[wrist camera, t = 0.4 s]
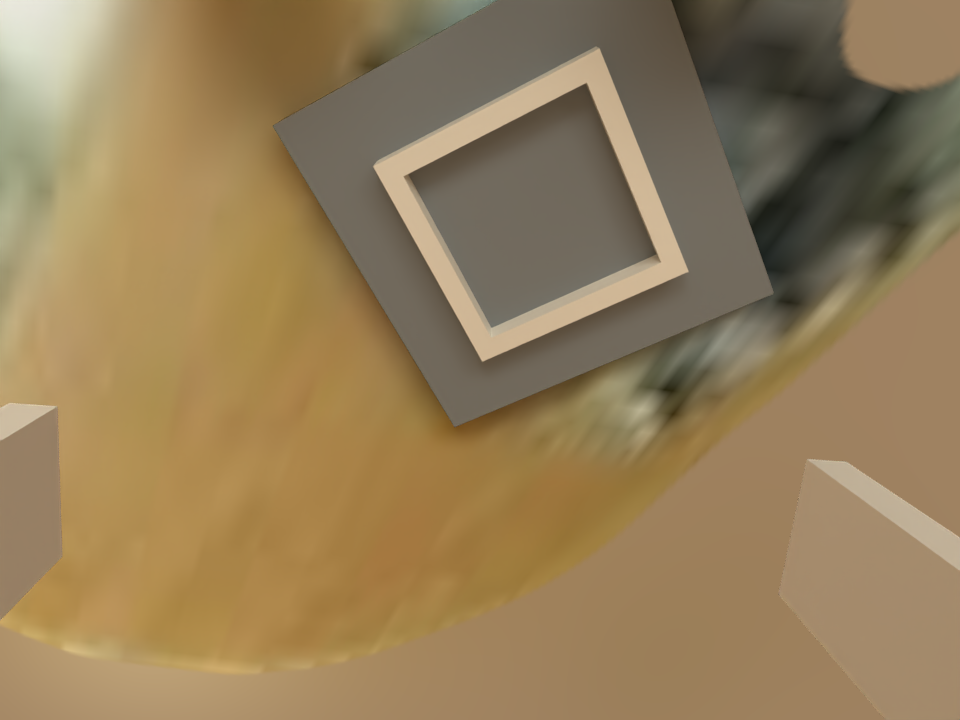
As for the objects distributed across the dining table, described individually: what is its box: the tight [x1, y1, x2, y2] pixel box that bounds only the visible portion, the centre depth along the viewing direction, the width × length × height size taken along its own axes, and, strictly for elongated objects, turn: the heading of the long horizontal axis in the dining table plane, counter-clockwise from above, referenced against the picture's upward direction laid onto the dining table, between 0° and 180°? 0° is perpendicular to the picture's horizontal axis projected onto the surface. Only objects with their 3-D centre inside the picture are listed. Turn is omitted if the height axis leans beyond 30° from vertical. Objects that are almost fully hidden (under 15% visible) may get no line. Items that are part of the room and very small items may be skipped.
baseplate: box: [273, 0, 774, 427], centre depth 36 cm, size 18×18×3 cm
